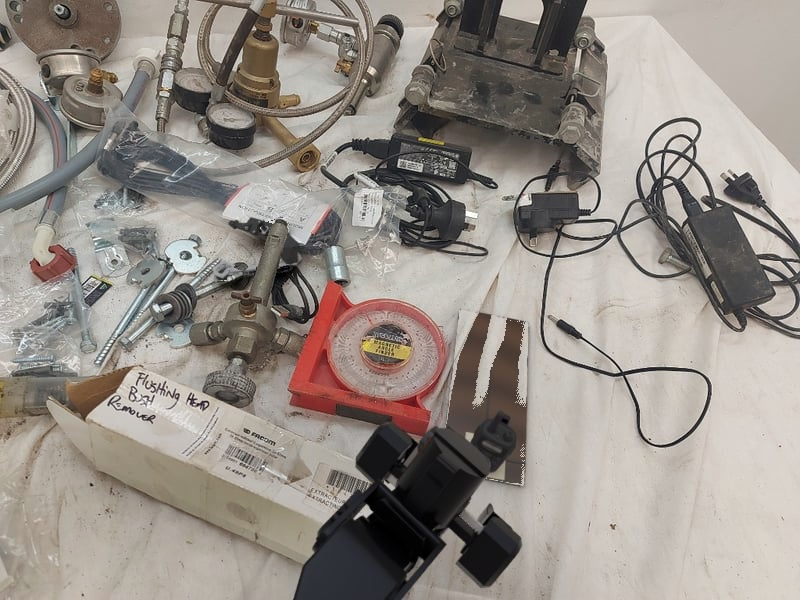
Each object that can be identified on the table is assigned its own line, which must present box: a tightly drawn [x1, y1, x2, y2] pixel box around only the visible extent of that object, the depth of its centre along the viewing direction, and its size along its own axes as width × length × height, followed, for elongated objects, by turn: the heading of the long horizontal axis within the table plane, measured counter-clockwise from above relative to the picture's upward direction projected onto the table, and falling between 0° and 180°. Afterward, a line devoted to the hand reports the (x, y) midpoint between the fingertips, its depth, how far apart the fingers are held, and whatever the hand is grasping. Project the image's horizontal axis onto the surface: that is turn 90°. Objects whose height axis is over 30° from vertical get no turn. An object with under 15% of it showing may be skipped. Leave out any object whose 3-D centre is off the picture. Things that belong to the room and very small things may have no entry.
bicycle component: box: [212, 216, 302, 283], centre depth 98 cm, size 12×7×15 cm
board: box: [446, 311, 528, 484], centre depth 90 cm, size 28×12×1 cm, turn 171°
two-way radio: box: [470, 411, 516, 473], centre depth 76 cm, size 6×4×15 cm
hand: (457, 479), depth 68 cm, fingers open, 9 cm apart
